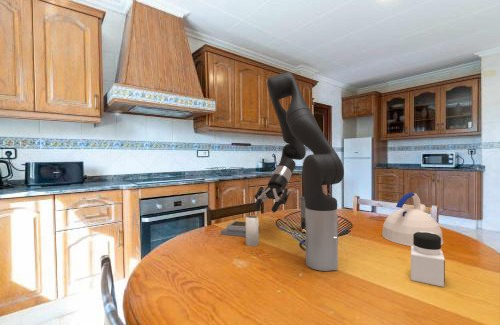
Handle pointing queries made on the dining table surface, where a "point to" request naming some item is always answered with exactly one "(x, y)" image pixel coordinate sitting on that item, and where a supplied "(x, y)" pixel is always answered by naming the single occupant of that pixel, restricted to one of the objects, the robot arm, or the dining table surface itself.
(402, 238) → the kettle
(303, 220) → the milk frother
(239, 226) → the hub plate
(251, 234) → the pale grey canister
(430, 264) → the medicine bottle
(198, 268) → the dining table surface
